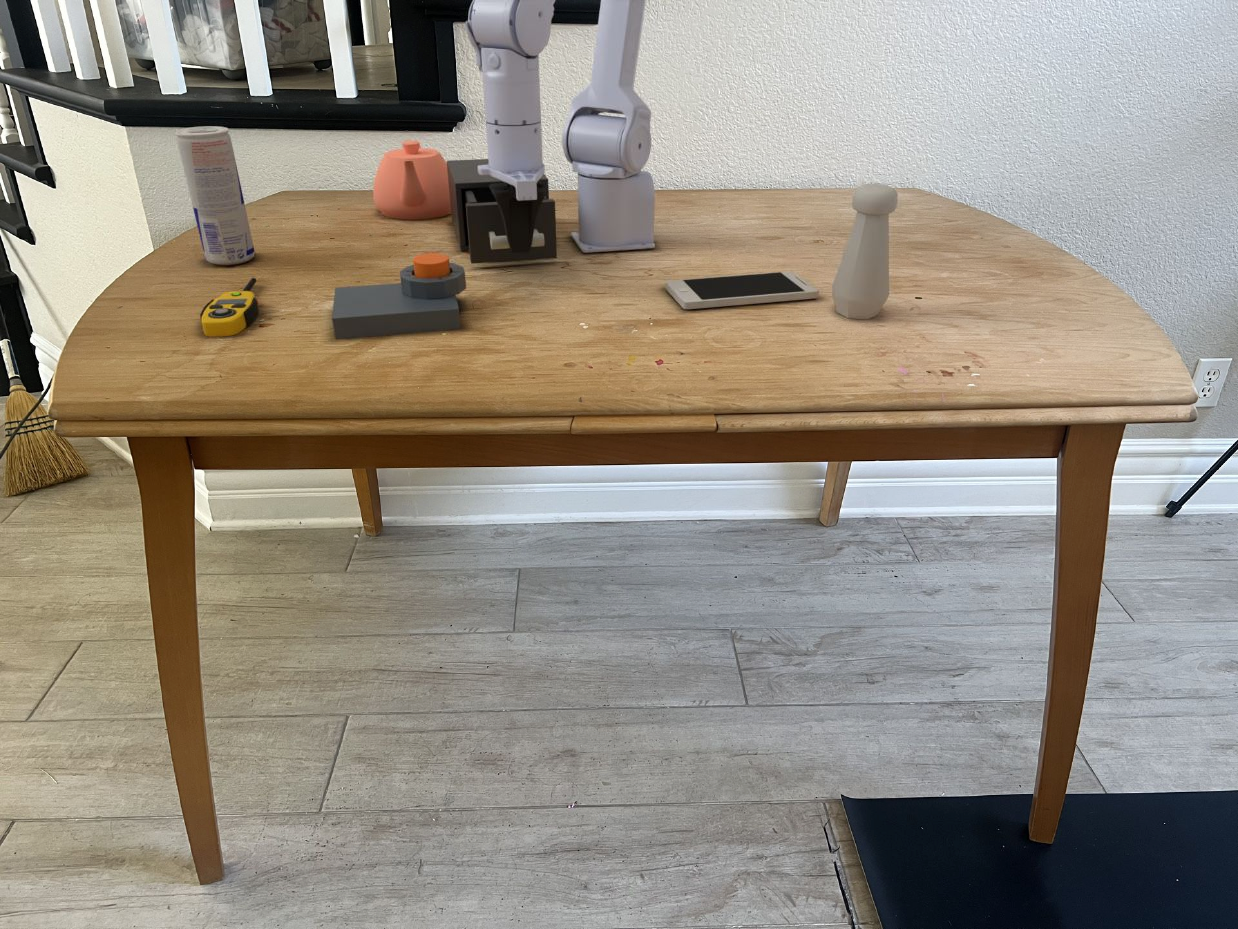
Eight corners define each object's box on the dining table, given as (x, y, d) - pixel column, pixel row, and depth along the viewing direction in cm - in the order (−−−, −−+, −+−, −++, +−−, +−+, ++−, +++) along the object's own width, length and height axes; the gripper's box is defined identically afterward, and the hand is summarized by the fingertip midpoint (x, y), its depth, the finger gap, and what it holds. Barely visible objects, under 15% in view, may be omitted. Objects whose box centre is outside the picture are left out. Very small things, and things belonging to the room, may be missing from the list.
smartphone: (664, 287, 96) (664, 279, 95) (791, 277, 99) (792, 269, 99) (684, 310, 90) (684, 301, 89) (818, 298, 93) (819, 290, 93)
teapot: (461, 195, 132) (455, 130, 127) (459, 227, 116) (452, 155, 112) (380, 197, 130) (372, 131, 125) (368, 230, 115) (357, 156, 110)
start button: (448, 268, 90) (447, 252, 89) (451, 279, 87) (450, 262, 86) (414, 270, 89) (412, 254, 88) (415, 281, 86) (413, 264, 86)
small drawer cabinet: (550, 246, 110) (548, 178, 105) (460, 252, 107) (454, 183, 103) (533, 219, 121) (531, 156, 116) (452, 223, 118) (446, 160, 114)
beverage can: (266, 256, 105) (239, 127, 97) (230, 269, 100) (199, 135, 93) (232, 250, 107) (203, 123, 99) (195, 263, 102) (162, 130, 95)
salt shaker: (886, 324, 87) (909, 195, 81) (829, 320, 88) (847, 191, 82) (882, 305, 92) (904, 181, 85) (828, 300, 93) (846, 178, 86)
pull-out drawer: (563, 268, 99) (561, 210, 96) (474, 275, 97) (470, 215, 93) (539, 229, 113) (537, 177, 109) (461, 234, 111) (457, 181, 107)
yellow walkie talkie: (188, 320, 82) (229, 269, 94) (193, 339, 83) (233, 286, 95) (241, 318, 82) (274, 268, 95) (246, 337, 83) (278, 285, 96)
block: (464, 295, 94) (461, 259, 91) (473, 328, 85) (470, 289, 83) (338, 305, 91) (332, 268, 89) (335, 340, 83) (328, 300, 81)
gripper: (467, 111, 94) (477, 234, 101) (482, 135, 82) (492, 273, 89) (531, 109, 95) (536, 231, 102) (555, 132, 83) (559, 268, 90)
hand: (520, 250), depth 96 cm, fingers closed
